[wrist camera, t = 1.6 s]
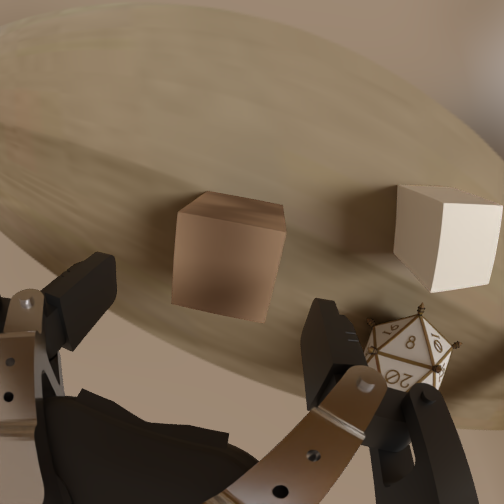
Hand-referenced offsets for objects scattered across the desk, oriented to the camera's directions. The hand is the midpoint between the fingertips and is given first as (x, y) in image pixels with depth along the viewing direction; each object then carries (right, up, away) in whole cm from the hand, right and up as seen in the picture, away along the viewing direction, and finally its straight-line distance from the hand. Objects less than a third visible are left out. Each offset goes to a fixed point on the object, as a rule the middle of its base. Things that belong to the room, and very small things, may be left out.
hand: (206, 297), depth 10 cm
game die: (+13, -5, +11) cm, 18 cm away
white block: (+14, +4, +7) cm, 16 cm away
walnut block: (+1, +3, +8) cm, 9 cm away
